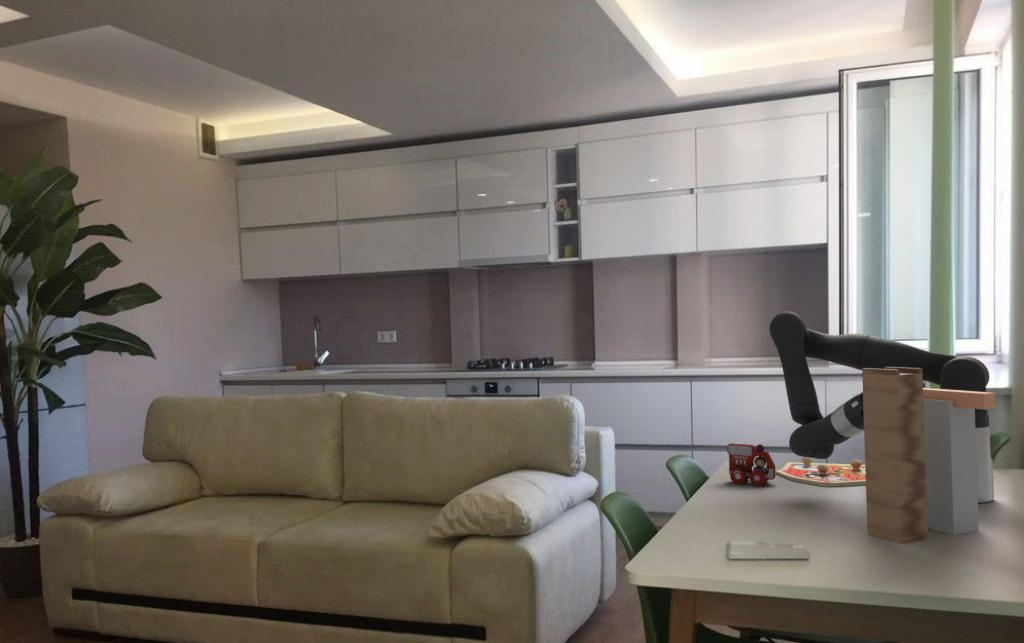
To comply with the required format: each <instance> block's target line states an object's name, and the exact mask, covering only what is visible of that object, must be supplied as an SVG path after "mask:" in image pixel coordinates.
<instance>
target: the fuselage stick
mask: <svg viewBox="0 0 1024 643" xmlns="http://www.w3.org/2000/svg"><path fill="white" fill-rule="evenodd" d="M923 399H933V400H945V401H953V407H962V408H973V409H984V410H986V409H987V410H995V409H996V406H997V405H996V393H995V392H989V391H988V392H987V391H986V392H975V391H961V390H946V389H940V388H927V387H924V388H923Z"/></svg>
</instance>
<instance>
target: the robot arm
mask: <svg viewBox="0 0 1024 643" xmlns="http://www.w3.org/2000/svg"><path fill="white" fill-rule="evenodd" d="M768 328H769V329H768V331H769V335H770V338H771V341H772V342H773V344H774V346H775V347H776V350H777V353H778V357H779V360H780V364H781V369H782V372H783V377H784V384H785V391H786V396H787V401H788V402H787V403H788V406H789V412H790V416H791V419H792V420H793V421H794V422H795V423H796V424H799V425H800V426H799V427H797V428H796V429H795V430H793V432H792V433H791V434H790V437H789V438H788V439H789V440H788V443H789V444H788V446H789V449H790V450H791V451H792V453H793V454H795V455H796V456H798V457H801V458H803V457H809V458H812V459H815V460H816V459H817V460H826V459H828V458H830V457H831V456H832V454H833V453H834V451H835V445H840V444H842V443H845V442H846V441H848V440H849V439H852V438H853V437H855V436H858V435H860V434H862V433H864V411H863V391H862V392H859V393H857V394H856V395H854V396H853V397H851V398H850V399H848V400H847V401H845V402H844V403H841V404H840V405H839V406H838V407H837V408H836V409H835V410H833V411H832V412H831V413H829V414H828V415H826V416H823V414H822V412H821V409H820V405H819V399H818V395H817V391H816V387H815V384H814V380H813V378H812V374H811V372H810V368H809V365H808V364H809V363H808V362H807V361H808V360H807V358H809V359H815V360H822V361H826V362H830V363H833V364H836V365H839V366H840V365H841V366H844V367H848V368H852V369H855V370H859V371H862V368H872V369H884V367H902V368H922V375H923V388H926V385H925V382H927V383H931V384H934V385H938V386H939V389H946V390H961V391H975V392H987V386H988V385H989V381H990V372H989V370H988V368H987V365H985V363H983V362H982V361H981V360H980V359H978V358H975V357H973V356H966V355H957V354H955V355H954V354H946V353H942V352H933V351H930V350H929V351H928V350H925V349H922V348H918V347H915V346H912V345H909V344H906V343H903V342H899V341H896V340H892V339H888V338H885V337H880V336H876V335H870V334H868V333H867V334H866V333H848V334H828V333H823V332H819V331H816V330H813V329H809V328H807V327H806V323H805V322H804V320H803V318H802V317H801V316H799V314H797V313H795V312H792V311H783V312H779V313H778V314H775V316H773V318H772V319H771V321H770V323H769V327H768ZM989 416H990V415H989V412H988V409H986V410H984V409H975V434H976V463H977V493H978V504H979V503H981V504H983V503H989V502H991V501H992V500H995V486H994V460H993V458H992V457H991V442H990V441H991V440H990V438H991V437H990V417H989Z"/></svg>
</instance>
